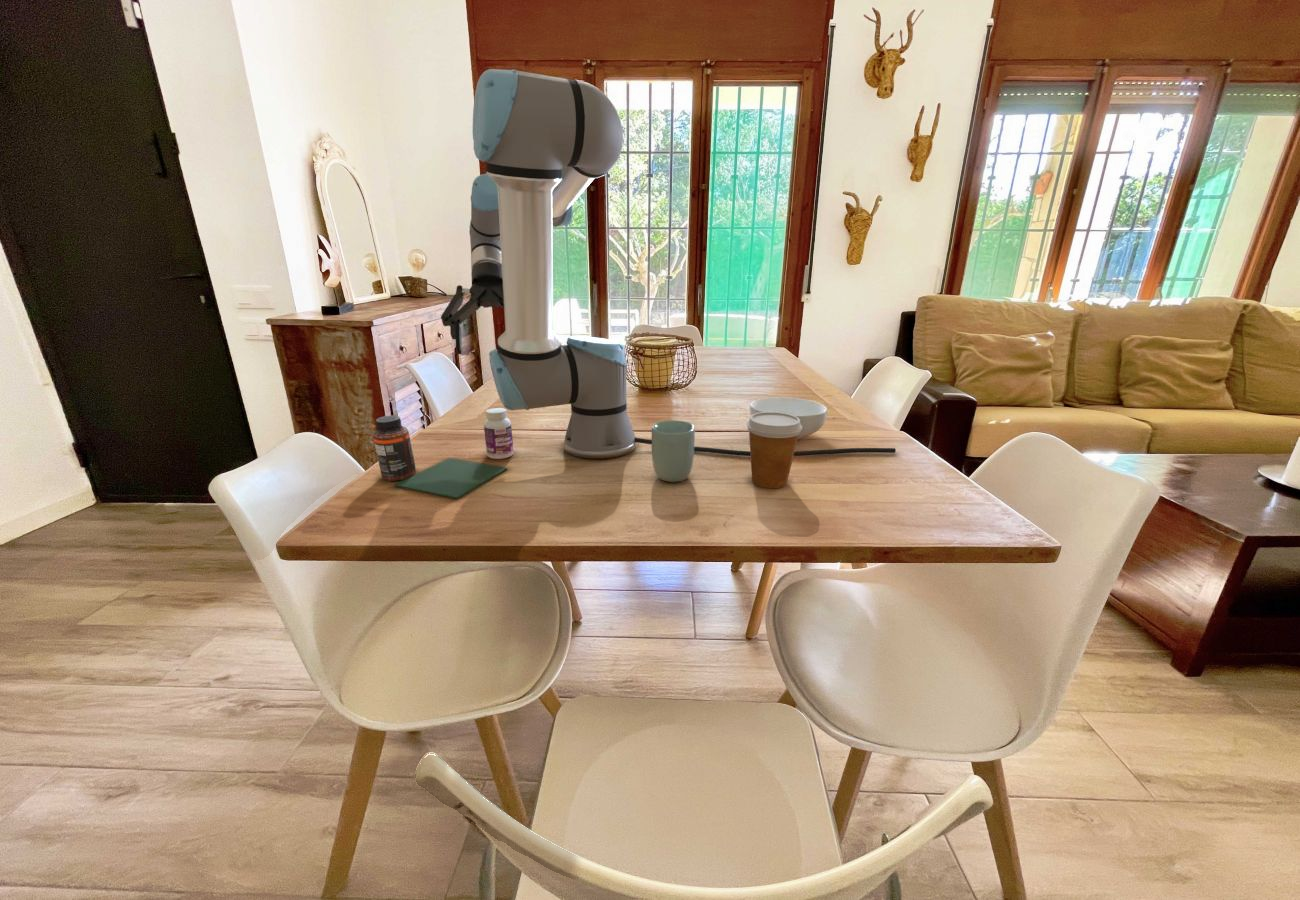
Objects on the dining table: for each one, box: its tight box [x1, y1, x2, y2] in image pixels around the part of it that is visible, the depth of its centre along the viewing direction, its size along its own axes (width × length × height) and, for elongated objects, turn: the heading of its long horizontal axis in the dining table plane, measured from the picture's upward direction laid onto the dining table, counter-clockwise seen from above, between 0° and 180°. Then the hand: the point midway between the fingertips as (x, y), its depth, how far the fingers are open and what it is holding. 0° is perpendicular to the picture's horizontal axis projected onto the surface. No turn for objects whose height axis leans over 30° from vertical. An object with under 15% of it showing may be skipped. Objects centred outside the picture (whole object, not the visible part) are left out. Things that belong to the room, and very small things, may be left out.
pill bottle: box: [483, 407, 514, 460], centre depth 105 cm, size 5×5×10 cm
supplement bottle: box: [372, 414, 417, 482], centre depth 95 cm, size 6×6×11 cm
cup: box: [651, 419, 696, 483], centre depth 94 cm, size 8×8×10 cm
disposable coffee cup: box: [746, 412, 802, 489], centre depth 92 cm, size 10×10×12 cm
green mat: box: [393, 457, 508, 500], centre depth 96 cm, size 14×14×1 cm
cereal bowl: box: [749, 396, 828, 440], centre depth 118 cm, size 17×17×7 cm
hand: (492, 349), depth 110 cm, fingers open, 13 cm apart
